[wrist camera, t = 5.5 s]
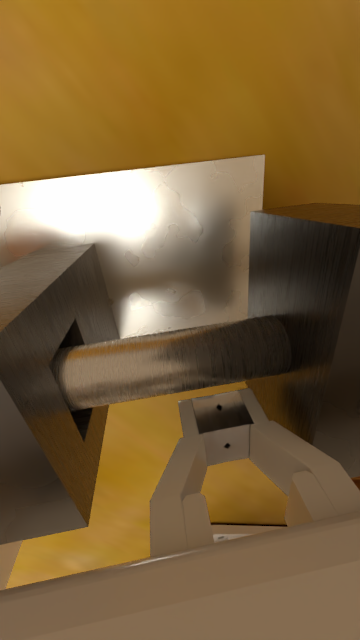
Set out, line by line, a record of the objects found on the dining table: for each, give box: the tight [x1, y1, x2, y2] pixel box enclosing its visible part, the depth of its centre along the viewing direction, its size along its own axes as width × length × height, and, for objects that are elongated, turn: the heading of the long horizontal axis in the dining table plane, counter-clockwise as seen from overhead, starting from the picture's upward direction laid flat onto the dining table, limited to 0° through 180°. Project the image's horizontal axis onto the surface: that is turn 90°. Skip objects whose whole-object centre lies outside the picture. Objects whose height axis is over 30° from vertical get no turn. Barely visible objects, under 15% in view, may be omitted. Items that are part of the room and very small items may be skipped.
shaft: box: [49, 203, 360, 478], centre depth 8 cm, size 21×8×5 cm, turn 96°
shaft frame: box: [0, 155, 265, 545], centre depth 10 cm, size 24×12×11 cm, turn 96°
